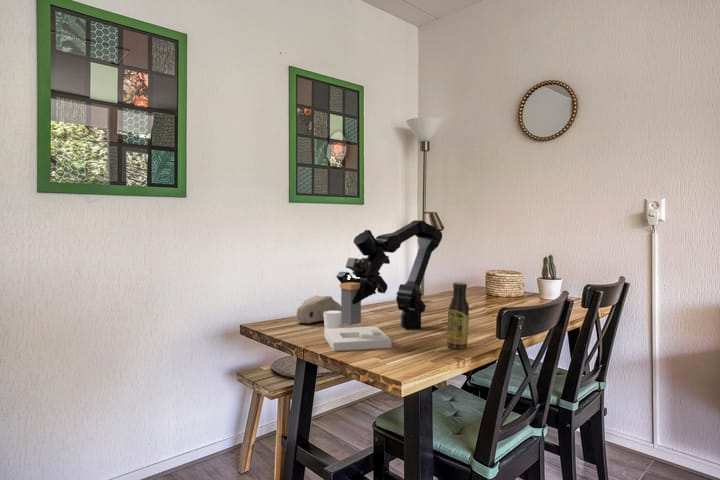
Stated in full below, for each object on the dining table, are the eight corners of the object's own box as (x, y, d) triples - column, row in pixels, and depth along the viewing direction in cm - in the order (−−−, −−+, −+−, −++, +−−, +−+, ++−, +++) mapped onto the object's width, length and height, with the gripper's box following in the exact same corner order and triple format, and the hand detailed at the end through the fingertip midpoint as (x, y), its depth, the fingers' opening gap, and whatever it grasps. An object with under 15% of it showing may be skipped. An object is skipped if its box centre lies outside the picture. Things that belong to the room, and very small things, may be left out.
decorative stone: (303, 327, 165) (303, 300, 164) (291, 324, 170) (291, 297, 170) (344, 319, 179) (344, 294, 178) (332, 316, 184) (332, 292, 184)
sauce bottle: (442, 347, 138) (443, 282, 138) (454, 343, 143) (455, 281, 142) (461, 351, 134) (462, 284, 133) (472, 347, 138) (473, 283, 137)
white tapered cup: (340, 334, 154) (340, 314, 154) (320, 333, 155) (320, 313, 155) (344, 329, 160) (344, 310, 160) (326, 328, 162) (326, 309, 162)
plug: (351, 320, 146) (351, 282, 146) (362, 322, 143) (362, 283, 142) (339, 322, 143) (339, 283, 142) (350, 325, 139) (350, 285, 139)
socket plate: (376, 333, 155) (376, 324, 155) (391, 347, 138) (391, 336, 138) (324, 336, 151) (324, 326, 151) (333, 351, 134) (333, 340, 133)
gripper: (340, 247, 151) (314, 283, 144) (381, 250, 138) (355, 289, 131) (357, 269, 157) (333, 304, 150) (398, 273, 144) (374, 312, 137)
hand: (348, 302), depth 142 cm, fingers closed on plug, 4 cm apart
